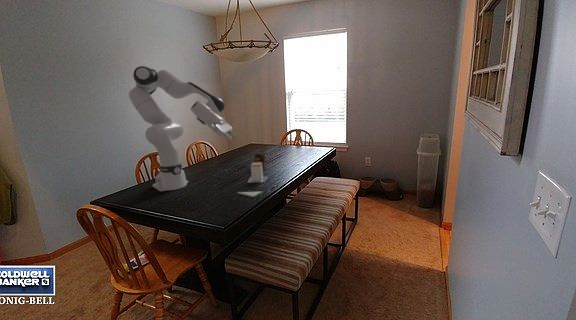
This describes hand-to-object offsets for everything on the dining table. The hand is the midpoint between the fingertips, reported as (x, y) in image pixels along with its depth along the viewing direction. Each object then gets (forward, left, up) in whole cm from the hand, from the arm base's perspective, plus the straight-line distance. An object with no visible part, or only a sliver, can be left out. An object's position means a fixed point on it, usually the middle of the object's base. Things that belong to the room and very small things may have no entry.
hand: (233, 138), depth 168 cm
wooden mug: (-3, +25, -28) cm, 38 cm away
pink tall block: (+10, +7, -26) cm, 29 cm away
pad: (+20, -8, -27) cm, 35 cm away
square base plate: (+10, +7, -27) cm, 30 cm away
